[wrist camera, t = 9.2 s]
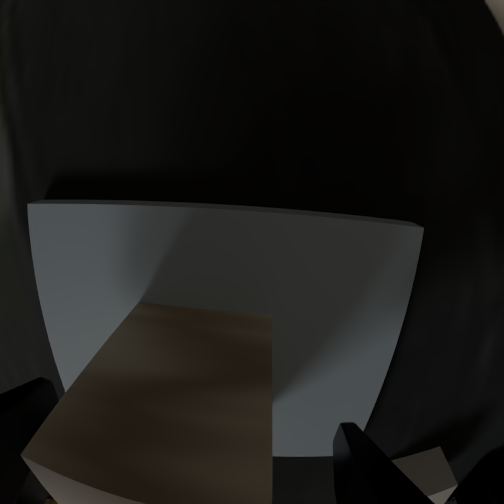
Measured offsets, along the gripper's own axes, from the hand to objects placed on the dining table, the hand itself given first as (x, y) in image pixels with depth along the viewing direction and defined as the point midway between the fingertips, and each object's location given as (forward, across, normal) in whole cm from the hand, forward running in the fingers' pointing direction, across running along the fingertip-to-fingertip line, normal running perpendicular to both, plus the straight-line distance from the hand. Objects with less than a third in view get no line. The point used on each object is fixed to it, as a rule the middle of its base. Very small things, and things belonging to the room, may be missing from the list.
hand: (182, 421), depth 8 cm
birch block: (+3, 0, 0) cm, 3 cm away
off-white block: (+4, -12, +10) cm, 16 cm away
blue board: (+4, 0, 0) cm, 4 cm away
